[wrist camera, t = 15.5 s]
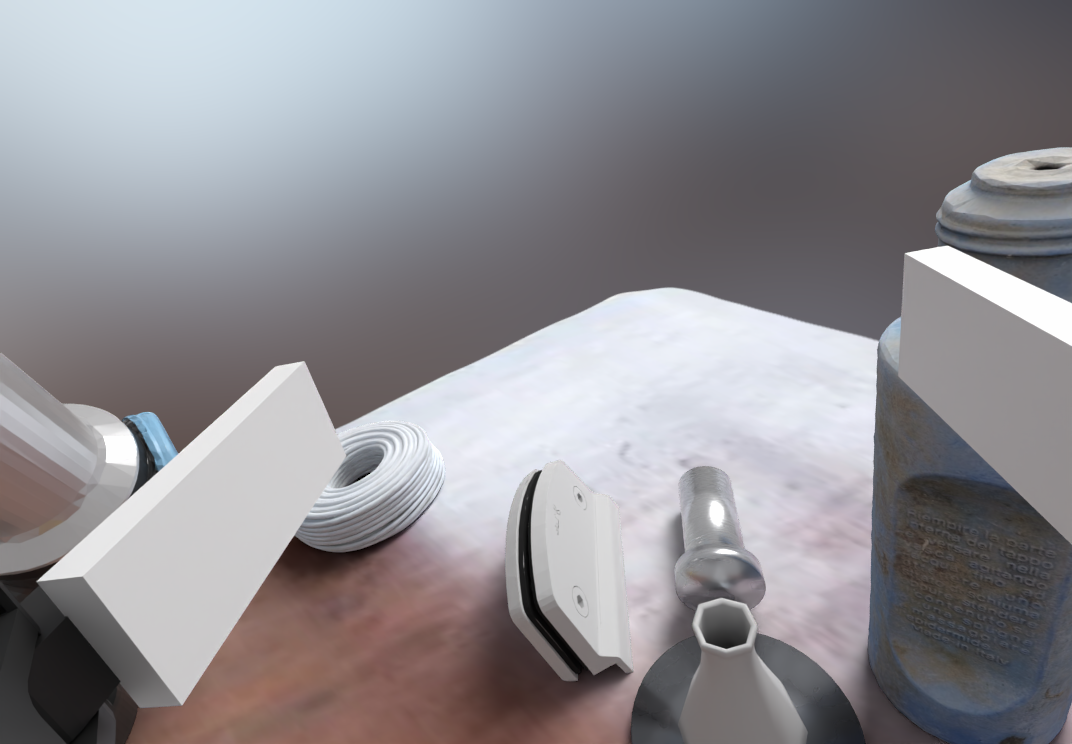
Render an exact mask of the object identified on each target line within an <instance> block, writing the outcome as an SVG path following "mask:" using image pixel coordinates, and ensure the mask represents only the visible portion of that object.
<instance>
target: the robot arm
mask: <svg viewBox="0 0 1072 744" xmlns="http://www.w3.org/2000/svg"><path fill="white" fill-rule="evenodd" d="M898 376H899V377H900V378H901V379H902V380H903V381H904V382H905V383H906V384H907V385H908V386H909V387H910V388H911V389H912V390H913V391H914V392H915V393H916V394H917V395H918V396H919V397H920V398H921V399H922V400H923V401H924V402H925V403H926V404H927V405H928V406H929V407H930V408H932V409H933V410H934V411H935V412H936V413H937V414H938V415H939V416H940V417H941V418H942V419H943V420H944V421H945V422H946V423H947V424H948V425H949V426H950V427H951V428H952V429H953V430H954V431H955V432H956V433H957V434H958V435H959V436H960V437H961V438H962V439H963V440H964V441H966V442H967V443H968V444H969V445H970V446H971V447H972V448H973V449H974V450H975V451H976V452H977V453H978V454H979V455H980V456H981V457H982V458H983V459H984V460H985V461H986V462H987V463H988V464H989V465H990V466H991V467H992V468H993V469H994V470H995V471H996V472H997V473H998V474H1000V475H1001V476H1002V477H1003V478H1004V479H1005V480H1006V481H1007V482H1008V483H1009V484H1010V485H1011V486H1012V487H1013V488H1014V489H1015V490H1016V491H1017V492H1018V493H1019V494H1020V495H1021V496H1022V497H1023V498H1024V499H1025V500H1026V501H1027V502H1028V503H1029V504H1030V505H1031V506H1032V507H1034V508H1035V509H1036V510H1037V511H1038V512H1039V513H1040V514H1041V515H1042V516H1043V517H1044V518H1045V519H1046V520H1047V521H1048V522H1049V523H1050V524H1051V525H1052V526H1053V527H1054V528H1055V529H1056V530H1057V531H1058V532H1059V533H1060V534H1061V535H1062V536H1063V537H1064V538H1065V539H1066V540H1068V541H1069V542H1070V543H1071V544H1072V303H1070V302H1068V301H1066V300H1063V299H1061V298H1059V297H1057V296H1055V295H1053V294H1050V293H1048V292H1046V291H1044V290H1042V289H1040V288H1038V287H1035V286H1033V285H1031V284H1029V283H1027V282H1025V281H1023V280H1020V279H1018V278H1016V277H1014V276H1012V275H1010V274H1008V273H1005V272H1003V271H1001V270H999V269H997V268H995V267H993V266H990V265H988V264H986V263H984V262H982V261H980V260H978V259H975V258H973V257H971V256H969V255H967V254H965V253H962V252H960V251H958V250H956V249H954V248H952V247H950V246H943V247H937V248H932V249H926V250H920V251H915V252H909V253H905V259H904V277H903V297H902V314H901V332H900V350H899V368H898ZM345 457H346V454H345V452H344V449H343V447H342V445H341V443H340V440H339V438H338V436H337V434H336V431H335V429H334V427H333V425H332V422H331V420H330V418H329V416H328V413H327V411H326V409H325V407H324V404H323V402H322V400H321V398H320V395H319V393H318V391H317V389H316V386H315V384H314V382H313V380H312V378H311V375H310V373H309V371H308V368H307V366H306V364H305V362H304V361H303V362H298V363H293V364H287V365H281V366H276V367H275V368H273V369H272V370H271V371H270V372H269V373H268V374H267V375H266V376H265V377H263V378H262V379H261V380H260V381H259V382H258V383H257V384H256V385H255V386H253V388H251V389H250V390H249V391H248V392H247V393H246V394H245V395H243V396H242V397H241V398H240V399H239V400H238V401H237V402H236V403H234V404H233V405H232V406H231V407H230V408H229V409H228V410H227V411H226V412H224V413H223V414H222V415H221V416H220V417H219V418H218V419H217V420H216V421H214V422H213V423H212V424H211V425H210V426H209V427H208V428H207V429H206V430H204V431H203V432H202V433H201V434H200V435H199V436H198V437H197V438H196V439H194V440H193V442H191V443H190V444H189V445H188V446H187V447H186V448H185V449H183V450H182V451H181V452H180V453H179V454H178V453H177V451H176V449H175V447H174V445H173V444H172V442H171V440H170V438H169V436H168V434H167V433H166V431H165V429H164V427H163V426H162V424H161V422H160V420H159V419H158V418H157V416H156V415H155V414H153V413H151V412H143V413H140V414H137V415H130V416H127V417H125V418H123V419H122V421H121V420H119V419H118V418H117V417H116V416H114V415H112V414H111V413H109V412H107V411H105V410H102V409H99V408H96V407H92V406H88V405H80V404H62V403H60V402H59V401H58V400H57V399H55V398H54V397H53V396H52V395H51V394H50V393H48V392H47V391H46V390H45V389H44V388H42V387H41V386H40V385H39V384H38V383H37V382H35V381H34V380H33V379H32V378H31V377H29V376H28V375H27V374H26V373H25V372H23V371H22V370H21V369H20V368H19V367H17V366H16V365H15V364H14V363H13V362H11V361H10V360H9V359H8V358H7V357H6V356H4V355H3V354H2V353H1V352H0V744H125V742H126V740H127V738H128V736H129V734H130V731H131V729H132V726H133V724H134V721H135V717H136V713H137V708H138V706H139V707H140V708H151V707H167V706H182V705H183V703H184V702H185V700H186V699H187V697H188V696H189V694H190V693H191V691H192V690H193V688H194V687H195V685H196V684H197V682H198V681H199V679H200V677H201V676H202V674H203V673H204V671H205V670H206V668H207V667H208V665H209V664H210V662H211V661H212V659H213V658H214V656H215V655H216V653H217V652H218V650H219V649H220V647H221V646H222V644H223V643H224V641H225V640H226V638H227V636H228V635H229V633H230V632H231V630H232V629H233V627H234V626H235V624H236V623H237V621H238V620H239V618H240V617H241V615H242V614H243V612H244V611H245V609H246V608H247V606H248V605H249V603H250V602H251V600H252V599H253V597H254V596H255V594H256V592H257V591H258V589H259V588H260V586H261V585H262V583H263V582H264V580H265V579H266V577H267V576H268V574H269V573H270V571H271V570H272V568H273V567H274V565H275V564H276V562H277V561H278V559H279V558H280V556H281V555H282V553H283V551H284V550H285V548H286V547H287V545H288V544H289V542H290V541H291V539H292V538H293V536H294V535H295V533H296V532H297V530H298V529H299V527H300V526H301V524H302V523H303V521H304V520H305V518H306V517H307V515H308V514H309V512H310V511H311V509H312V507H313V506H314V504H315V503H316V501H317V500H318V498H319V497H320V495H321V494H322V492H323V491H324V489H325V488H326V486H327V485H328V483H329V482H330V480H331V479H332V477H333V476H334V474H335V473H336V471H337V470H338V468H339V466H340V465H341V463H342V462H343V460H344V459H345Z"/></svg>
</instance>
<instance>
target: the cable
mask: <svg viewBox="0 0 1072 744" xmlns="http://www.w3.org/2000/svg"><path fill="white" fill-rule="evenodd" d="M337 436H338V438H339V440H340V443H341V445H342V447H343V449H344V452H345V454H346V457H345V459H344V460H343V462H342V463H341V465H340V466H339V468H338V470H337V471H336V473H335V474H334V476H333V477H332V479H331V480H330V482H329V483H328V485H327V486H326V488H325V489H324V491H323V492H322V494H321V495H320V497H319V498H318V500H317V501H316V503H315V504H314V506H313V507H312V509H311V511H310V512H309V514H308V515H307V517H306V518H305V520H304V521H303V523H302V524H301V526H300V527H299V529H298V530H297V532H296V533H295V535H294V536H295V537H297V538H299V539H300V540H301V541H302V542H304V543H305V544H307V545H309V546H311V547H314V548H317V549H321V550H324V551H329V552H349V551H354V550H359V549H362V548H365V547H368V546H371V545H373V544H375V543H378V542H380V541H382V540H385V539H387V538H389V537H391V536H393V535H395V534H397V533H398V532H400V531H402V530H403V529H404V528H406V527H407V526H409V525H410V524H411V523H412V522H413V521H414V520H415V519H416V518H418V516H419V515H420V514H421V513H422V512H423V511H424V510H425V509H426V508H427V507H428V506H429V504H430V503H431V502H432V501H433V499H434V498H435V496H436V495H437V493H438V492H439V490H440V488H441V486H442V483H443V481H444V477H445V464H444V460H443V458H442V456H441V454H440V452H439V451H438V449H437V448H436V447H434V446H433V444H432V443H431V442H430V440H429V439H428V436H427V434H426V432H425V431H424V430H423V429H422V428H421V427H419V426H418V425H416V424H413V423H409V422H405V421H382V422H376V423H370V424H366V425H362V426H358V427H355V428H352V429H349V430H346V431H344V432H341V433H338V434H337ZM371 471H373V472H372V473H370V474H369V475H367V476H366V477H364V478H363V479H361V480H359V481H358V482H356V483H354V484H352V483H353V482H354V481H355V480H357V479H358V478H359V477H361V476H362V475H365V474H367V473H369V472H371ZM351 484H352V485H351Z"/></svg>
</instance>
